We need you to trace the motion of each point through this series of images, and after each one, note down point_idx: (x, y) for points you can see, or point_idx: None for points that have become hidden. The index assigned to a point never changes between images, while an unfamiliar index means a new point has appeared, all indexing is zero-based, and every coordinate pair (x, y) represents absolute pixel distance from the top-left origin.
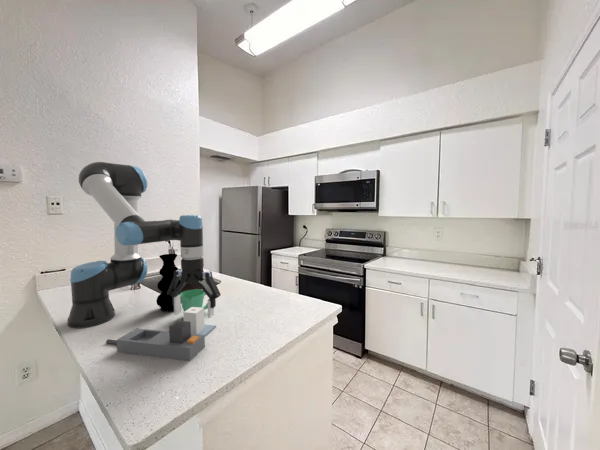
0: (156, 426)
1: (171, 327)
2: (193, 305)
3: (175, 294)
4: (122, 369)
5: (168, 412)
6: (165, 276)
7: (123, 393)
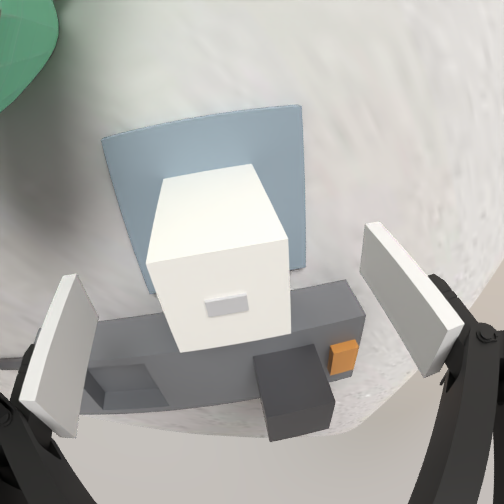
0: (364, 418)
1: (280, 437)
2: (17, 88)
3: (66, 460)
4: (183, 409)
5: (368, 408)
6: None
7: (264, 425)
